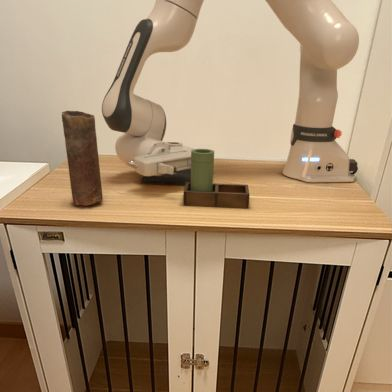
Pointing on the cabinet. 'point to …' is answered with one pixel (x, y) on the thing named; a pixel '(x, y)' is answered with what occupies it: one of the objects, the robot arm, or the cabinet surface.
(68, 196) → the cabinet surface
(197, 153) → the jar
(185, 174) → the mat
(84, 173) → the weathered brown tube
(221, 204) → the divided wooden tray
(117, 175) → the cabinet surface
